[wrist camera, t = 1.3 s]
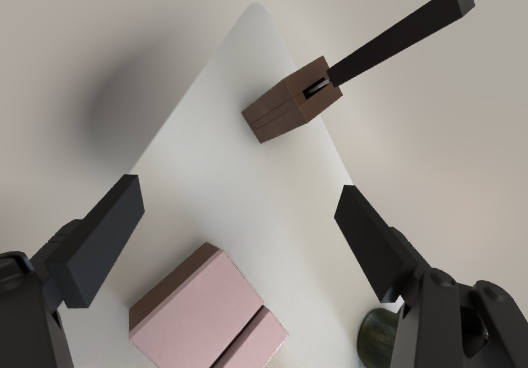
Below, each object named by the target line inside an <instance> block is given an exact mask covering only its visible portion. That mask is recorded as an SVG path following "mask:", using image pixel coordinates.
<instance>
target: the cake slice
mask: <svg viewBox="0 0 528 368" xmlns="http://www.w3.org/2000/svg"><path fill="white" fill-rule="evenodd" d="M287 336H288V333H287V331H286V330H285V329H284V327H283V326H282V325H281V324H280V322H279V321H278V320H277V318H276V317H275V316H274V315H273V313H272V312H271V311H270V310H269V309H268V308H266V307H265V306H264V305H261V307H260V308H259V309H258V310H257V311H256V313H255V314H254V315H253V316H252V317H251V319H250V320H249V321H248V322H247V323H246V324H245V326H244V327H243V328H242V329H241V330H240V332H239V333H238V334H237V335H236V336H235V338H234V339H233V340H232V341H231V342H230V343H229V345H228V346H227V347H226V348H225V349H224V351H223V352H222V353H221V354H220V355H219V357H218V358H217V359H216V360H215V361H214V362H213V364H212V365H211V366H210V367H209V368H264V367H265V366H266V364H267V363H268V362H269V360H270V359H271V358H272V356H273V355H274V354H275V352H276V351H277V349H278V348H279V347H280V345H281V344H282V343H283V341H284V340H285V338H286V337H287Z"/></svg>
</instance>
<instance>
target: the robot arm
mask: <svg viewBox="0 0 528 368" xmlns="http://www.w3.org/2000/svg"><path fill="white" fill-rule="evenodd" d="M144 212H145V210H144V205H143V200H142V194H141V189H140V184H139V178H138V175H129V174H124V175H123V176H122V177H121V178H120V180H119V181H118V182H117V183H116V184H115V185H114V186H113V187H112V188H111V189H110V190H109V191H108V193H107V194H106V195H105V196H104V197H103V198H102V199H101V200H100V201H99V202H98V204H97V205H96V206H95V207H94V208H93V209H92V210H91V211H90V212H89V213H88V214H87V216H86V217H85V218H84V219H80V220H79V219H75V220H73V221H71V222H69V223H67V224H66V225H64V226H63V227H62V228H61V229H60V230H59V231H58V232H57V233H56V234H55V236H53V237H52V238H51V239H50V240H49V241H48V243H46V244H45V245H44V246H43V247H42V248H41V249H40V250H39V251H38V252H37V253H36V254H35V255H34V256H33V257H32V258H31V259H30V260H29V259H28V257H27V256H26V254H25V253H23V252H20V251H12V252H6V253H2V254H0V368H74V366H73V362H72V358H71V355H70V351H69V347H68V343H67V340H66V336H65V332H64V329H63V325H62V321H61V318H60V314H59V312H58V310H57V308H58V307H59V305H60V304H61V303H62V301H63V300H64V302H65V304H66V306H67V308H88V307H89V306H90V304H91V302H92V301H93V299H94V297H95V296H96V294H97V292H98V290H99V289H100V287H101V285H102V284H103V282H104V280H105V279H106V277H107V275H108V273H109V272H110V270H111V268H112V267H113V265H114V263H115V261H116V260H117V258H118V256H119V255H120V253H121V251H122V250H123V248H124V246H125V244H126V243H127V241H128V239H129V238H130V236H131V234H132V233H133V231H134V229H135V227H136V226H137V224H138V222H139V221H140V219H141V217H142V216H143V214H144ZM334 219H335V220H336V222H337V224H338V226H339V228H340V230H341V231H342V233H343V235H344V237H345V239H346V241H347V242H348V244H349V246H350V248H351V250H352V252H353V253H354V255H355V257H356V259H357V261H358V263H359V264H360V266H361V268H362V270H363V272H364V273H365V275H366V277H367V279H368V281H369V283H370V284H371V286H372V288H373V290H374V292H375V294H376V295H377V297H378V299H379V301H380V303H395V302H396V300H397V299H398V297H399V295H401V297H402V298H403V300H404V301H405V302H404V303H403V305H402V306H401V308H400V309H399V311H398V312H397V314H396V316H397V317H398V316H399V315H400V318H399V323H398V328H397V333H396V339H395V344H394V349H393V355H392V360H391V365H390V368H528V322H527V320H526V319H525V317H524V316H523V314H522V312H521V311H520V309H519V308H518V306H517V304H516V303H515V301H514V299H513V298H512V297H511V296H510V295H509V294H508V293H507V292H506V291H505V290H503V289H502V288H501V287H499V286H497V285H495V284H493V283H491V282H489V281H484V280H480V281H477V282H476V284H475V285H474V286H473V287H471V286H468V285H464V284H460V283H457V282H456V281H455V280H454V279H453V278H452V277H451V276H450V275H449V274H447V273H445V272H444V271H442V270H439V269H437V268H432V267H431V266H430V265H429V264H428V263H427V262H426V261H425V259H424V258H423V257H422V256H421V255H420V254H419V252H418V251H417V250H416V249H415V248H414V247H413V246H412V244H411V243H410V242H408V240H407V239H406V237H405V236H404V235H403V234H402V233H401V232H400V231H398V230H397V229H395V228H394V227H389V226H388V225H387V224H386V223H385V221H384V220H383V219H382V218H381V217H380V215H379V214H378V213H377V212H376V211H375V209H374V208H373V207H372V206H371V205H370V203H369V202H368V201H367V200H366V198H365V197H364V196H363V195H362V194H361V193H360V191H359V190H358V189H357V187H356V186H355V185H344V187H343V190H342V193H341V196H340V200H339V203H338V206H337V209H336V212H335V215H334ZM487 333H488V335H487Z"/></svg>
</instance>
